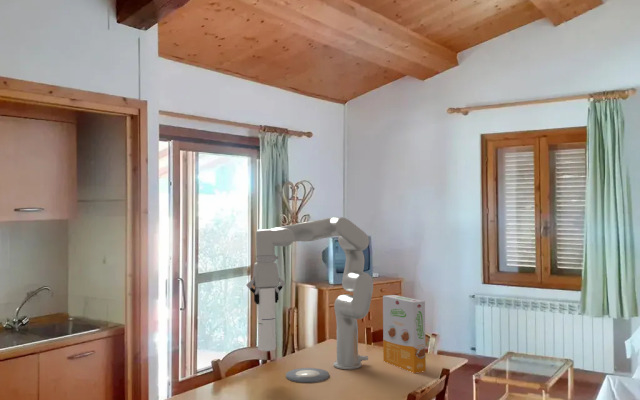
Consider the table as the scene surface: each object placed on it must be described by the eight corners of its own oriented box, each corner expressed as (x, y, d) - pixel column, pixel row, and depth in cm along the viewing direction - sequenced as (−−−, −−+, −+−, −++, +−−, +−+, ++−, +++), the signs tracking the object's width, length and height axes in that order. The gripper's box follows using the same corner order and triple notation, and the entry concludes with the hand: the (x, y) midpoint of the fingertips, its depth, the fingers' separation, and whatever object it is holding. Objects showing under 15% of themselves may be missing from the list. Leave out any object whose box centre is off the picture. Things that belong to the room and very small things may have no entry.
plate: (319, 368, 243) (319, 365, 243) (335, 379, 226) (335, 376, 226) (280, 373, 236) (280, 370, 236) (294, 384, 220) (294, 381, 220)
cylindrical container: (273, 351, 221) (272, 288, 222) (256, 350, 223) (255, 288, 223) (278, 347, 228) (277, 286, 229) (261, 346, 230) (260, 286, 230)
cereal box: (425, 371, 238) (424, 301, 238) (414, 373, 235) (413, 302, 235) (394, 359, 257) (393, 294, 258) (383, 361, 254) (382, 295, 255)
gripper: (283, 257, 233) (283, 300, 232) (242, 259, 226) (243, 303, 226) (288, 259, 226) (289, 302, 225) (247, 261, 219) (247, 306, 219)
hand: (266, 302), depth 226 cm, fingers closed on cylindrical container, 7 cm apart
